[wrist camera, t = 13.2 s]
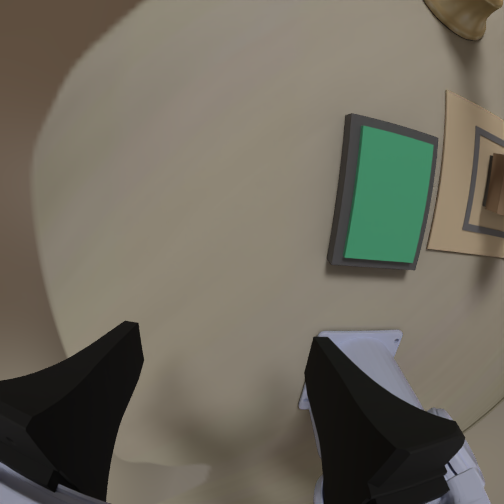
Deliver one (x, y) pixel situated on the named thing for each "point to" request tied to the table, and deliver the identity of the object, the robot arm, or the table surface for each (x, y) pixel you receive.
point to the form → (467, 181)
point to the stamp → (495, 185)
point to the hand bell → (464, 15)
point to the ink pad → (382, 194)
